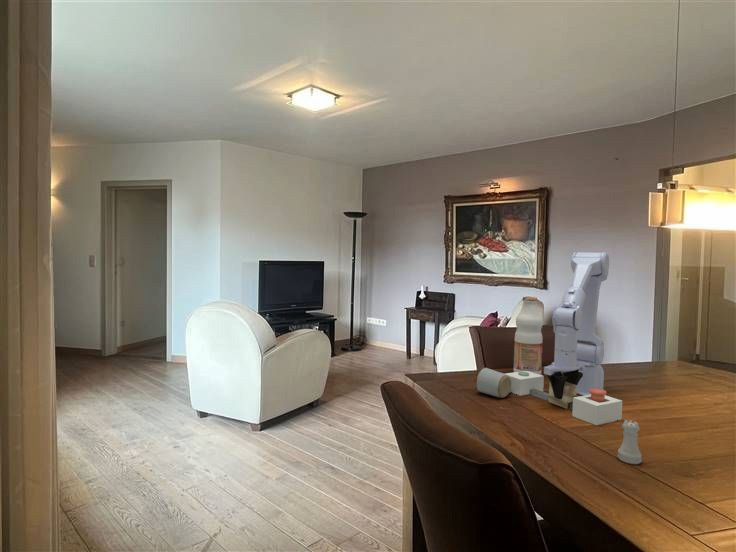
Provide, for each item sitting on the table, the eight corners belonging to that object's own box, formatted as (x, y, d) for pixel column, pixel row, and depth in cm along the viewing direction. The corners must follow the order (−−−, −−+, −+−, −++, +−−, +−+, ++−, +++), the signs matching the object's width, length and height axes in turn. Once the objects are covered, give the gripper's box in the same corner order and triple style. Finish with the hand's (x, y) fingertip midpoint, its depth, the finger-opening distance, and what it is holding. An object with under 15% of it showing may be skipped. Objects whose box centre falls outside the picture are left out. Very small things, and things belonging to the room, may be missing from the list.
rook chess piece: (612, 455, 93) (613, 418, 93) (632, 455, 93) (633, 418, 93) (626, 465, 89) (628, 426, 88) (647, 464, 89) (648, 426, 89)
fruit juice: (507, 372, 160) (510, 296, 158) (527, 370, 163) (530, 295, 162) (526, 379, 151) (529, 298, 150) (547, 376, 155) (550, 298, 154)
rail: (534, 393, 135) (534, 388, 135) (586, 412, 119) (586, 407, 119) (530, 394, 134) (530, 389, 134) (581, 413, 118) (581, 408, 118)
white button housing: (597, 410, 121) (597, 393, 120) (621, 419, 114) (622, 400, 114) (572, 416, 116) (573, 397, 116) (596, 425, 110) (597, 405, 110)
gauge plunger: (595, 402, 118) (596, 387, 118) (609, 406, 114) (610, 391, 114) (585, 404, 116) (586, 389, 116) (599, 408, 112) (599, 393, 112)
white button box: (526, 385, 143) (526, 368, 143) (543, 391, 137) (543, 374, 137) (503, 389, 139) (503, 371, 139) (519, 395, 133) (520, 377, 132)
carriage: (558, 400, 128) (559, 379, 128) (576, 406, 123) (576, 385, 123) (548, 402, 127) (549, 381, 126) (566, 408, 121) (567, 386, 121)
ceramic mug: (499, 401, 127) (500, 375, 127) (475, 394, 133) (476, 369, 133) (517, 394, 134) (519, 369, 134) (494, 388, 140) (495, 364, 140)
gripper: (571, 345, 131) (569, 390, 131) (535, 349, 124) (534, 396, 125) (592, 350, 124) (590, 397, 125) (556, 354, 118) (554, 403, 118)
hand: (563, 397), depth 124 cm, fingers closed on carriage, 4 cm apart
